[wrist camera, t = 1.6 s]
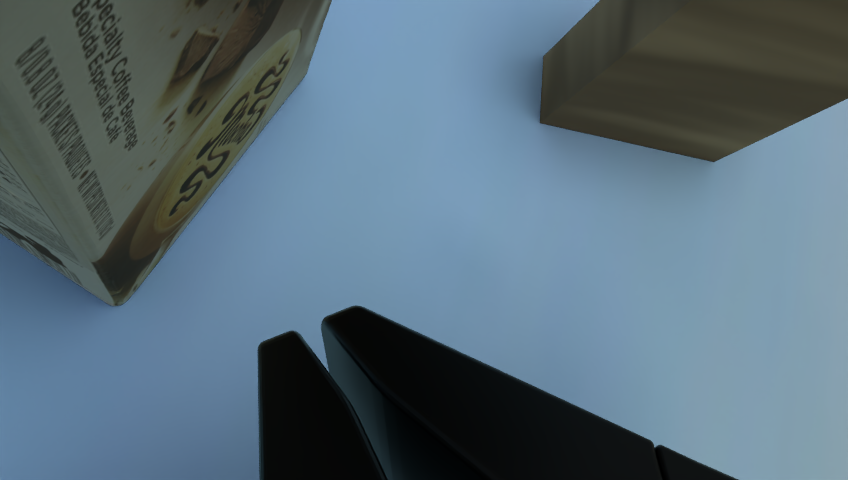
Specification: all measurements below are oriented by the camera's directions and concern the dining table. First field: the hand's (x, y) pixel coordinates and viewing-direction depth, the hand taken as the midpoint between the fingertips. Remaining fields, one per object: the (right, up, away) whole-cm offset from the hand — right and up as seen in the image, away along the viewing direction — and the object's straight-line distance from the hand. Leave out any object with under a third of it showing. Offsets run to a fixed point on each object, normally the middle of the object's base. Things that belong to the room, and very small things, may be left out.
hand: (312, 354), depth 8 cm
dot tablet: (+8, +6, +19) cm, 22 cm away
